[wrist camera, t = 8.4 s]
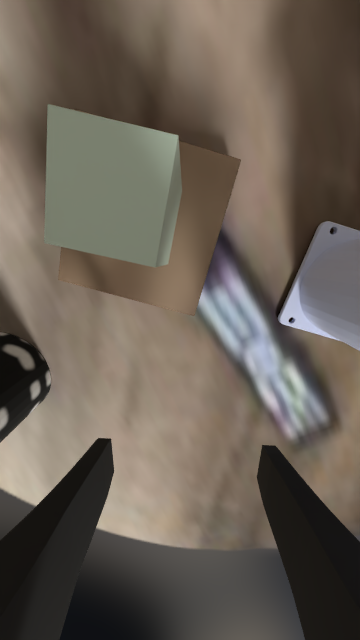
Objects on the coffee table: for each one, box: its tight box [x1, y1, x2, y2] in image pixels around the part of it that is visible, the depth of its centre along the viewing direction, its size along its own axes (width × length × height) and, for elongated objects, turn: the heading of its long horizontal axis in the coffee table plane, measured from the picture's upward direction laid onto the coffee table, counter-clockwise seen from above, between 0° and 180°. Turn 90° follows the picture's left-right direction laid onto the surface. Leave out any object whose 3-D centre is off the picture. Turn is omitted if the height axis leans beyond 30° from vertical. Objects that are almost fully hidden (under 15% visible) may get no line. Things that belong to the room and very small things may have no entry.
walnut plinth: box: [58, 109, 241, 316], centre depth 15 cm, size 10×10×3 cm
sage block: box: [44, 104, 182, 268], centre depth 11 cm, size 4×4×6 cm
